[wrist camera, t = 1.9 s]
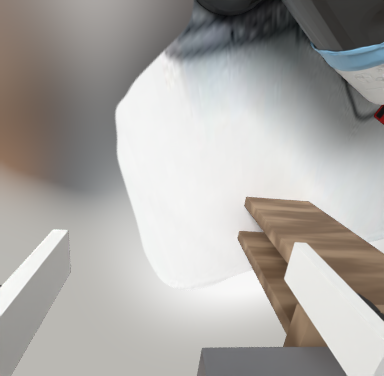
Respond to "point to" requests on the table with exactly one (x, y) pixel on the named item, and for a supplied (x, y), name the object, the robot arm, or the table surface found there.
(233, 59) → the table surface
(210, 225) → the table surface
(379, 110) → the electronic device
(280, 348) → the grey t-shaped block
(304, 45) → the table surface
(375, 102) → the cable organizer
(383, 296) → the shelf
